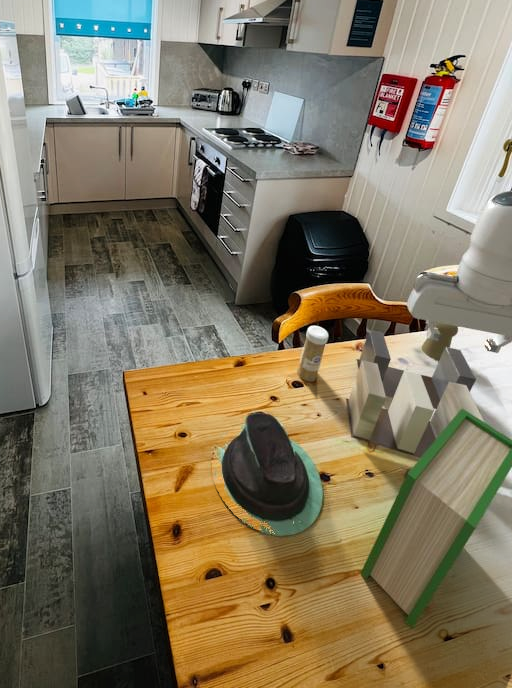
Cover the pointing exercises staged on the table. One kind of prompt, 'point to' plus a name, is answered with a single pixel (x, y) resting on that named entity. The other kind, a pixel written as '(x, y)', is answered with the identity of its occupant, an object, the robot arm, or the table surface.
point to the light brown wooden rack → (374, 420)
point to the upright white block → (410, 411)
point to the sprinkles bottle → (312, 353)
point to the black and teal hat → (271, 476)
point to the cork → (439, 341)
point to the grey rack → (446, 371)
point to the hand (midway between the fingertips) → (460, 343)
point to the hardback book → (438, 511)
